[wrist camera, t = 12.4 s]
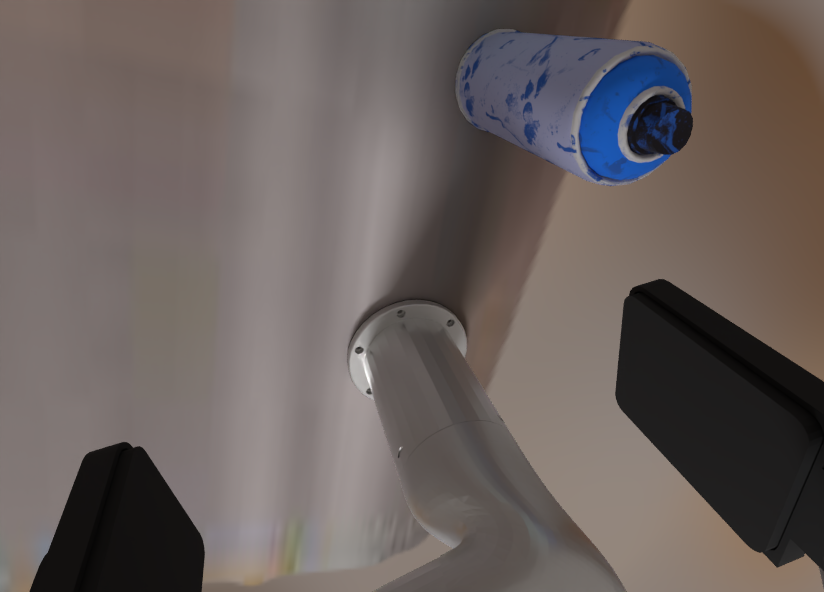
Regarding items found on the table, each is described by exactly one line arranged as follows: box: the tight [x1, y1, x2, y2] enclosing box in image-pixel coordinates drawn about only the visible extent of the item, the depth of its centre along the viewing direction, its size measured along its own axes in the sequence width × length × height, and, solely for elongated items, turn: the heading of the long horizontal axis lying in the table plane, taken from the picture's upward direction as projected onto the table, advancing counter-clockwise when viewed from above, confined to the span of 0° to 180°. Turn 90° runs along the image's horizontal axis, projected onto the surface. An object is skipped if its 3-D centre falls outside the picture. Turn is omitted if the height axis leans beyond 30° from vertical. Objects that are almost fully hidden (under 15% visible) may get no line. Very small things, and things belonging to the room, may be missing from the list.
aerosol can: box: [455, 29, 693, 186], centre depth 32 cm, size 8×8×20 cm
